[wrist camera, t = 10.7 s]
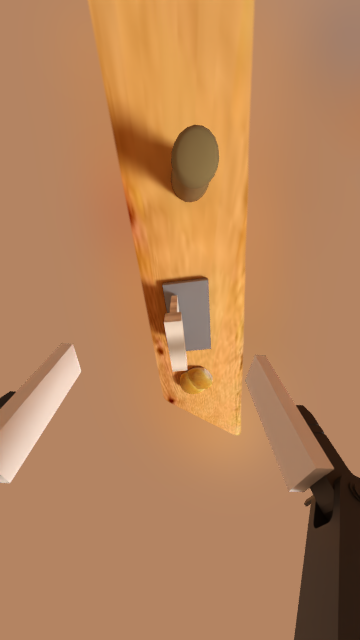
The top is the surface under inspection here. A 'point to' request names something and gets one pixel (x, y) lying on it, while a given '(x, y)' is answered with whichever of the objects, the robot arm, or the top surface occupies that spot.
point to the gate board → (192, 310)
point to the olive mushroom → (193, 162)
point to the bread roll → (196, 380)
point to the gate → (175, 336)
